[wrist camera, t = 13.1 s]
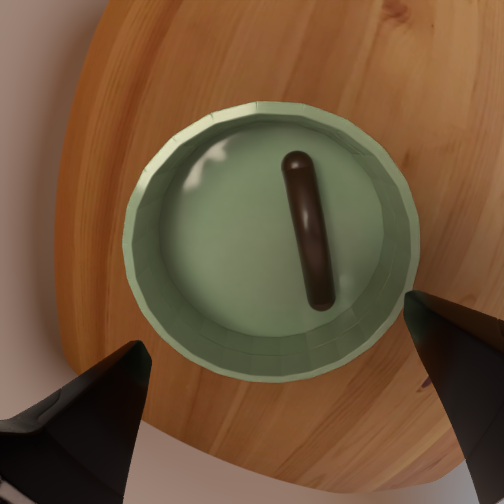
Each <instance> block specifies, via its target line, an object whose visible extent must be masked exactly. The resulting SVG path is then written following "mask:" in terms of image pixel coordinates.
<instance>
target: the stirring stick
mask: <svg viewBox="0 0 504 504" xmlns="http://www.w3.org/2000/svg"><path fill="white" fill-rule="evenodd" d="M281 173H282V177H283V182H284V186H285V190H286V195H287V199H288V204H289V209H290V213H291V218H292V223H293V227H294V232H295V237H296V242H297V247H298V252H299V257H300V262H301V268H302V273H303V278H304V284H305V289H306V295H307V300H308V303H309V305H310V307H311V308H312V309H314V310H316V311H319V312H324V311H327V310H329V309H330V308H331V307H332V306H333V305H334V303H335V300H336V293H335V285H334V277H333V270H332V263H331V256H330V249H329V243H328V237H327V230H326V225H325V219H324V213H323V208H322V202H321V197H320V192H319V186H318V181H317V177H316V172H315V167H314V163H313V160H312V158H311V157H310V156H309V155H308V154H307V153H305V152H303V151H298V150H296V151H291V152H289V153H287V154H286V155H285V156H284V157H283V159H282V161H281Z"/></svg>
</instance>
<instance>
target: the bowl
mask: <svg viewBox="0 0 504 504" xmlns="http://www.w3.org/2000/svg"><path fill="white" fill-rule="evenodd" d="M296 150H298V151H303V152H305V153H307V154H308V155H309V156H310V157H311V158H312V160H313V163H314V167H315V172H316V177H317V181H318V186H319V192H320V197H321V202H322V208H323V213H324V219H325V225H326V230H327V237H328V243H329V249H330V256H331V263H332V270H333V277H334V285H335V293H336V300H335V303H334V305H333V306H332V307H331V308H330V309H329V310H327V311H324V312H319V311H316V310H314V309H312V308H311V307H310V305H309V303H308V300H307V295H306V289H305V284H304V278H303V273H302V268H301V262H300V257H299V252H298V247H297V242H296V237H295V232H294V227H293V223H292V218H291V213H290V209H289V204H288V199H287V195H286V190H285V186H284V182H283V177H282V173H281V161H282V159H283V157H284V156H285V155H286V154H287V153H289V152H291V151H296ZM418 218H419V217H418V213H417V210H416V207H415V204H414V201H413V198H412V195H411V192H410V189H409V186H408V183H407V181H406V179H405V177H404V176H403V174H402V173H401V171H400V170H399V169H398V167H397V166H396V164H395V163H394V161H393V160H392V159H391V157H390V156H389V154H388V153H387V152H386V150H385V149H384V148H383V147H382V146H381V145H380V144H379V143H378V142H376V141H375V140H374V139H373V138H371V137H370V136H369V135H368V134H366V133H365V132H364V131H362V130H361V129H360V128H358V127H357V126H356V125H354V124H353V123H352V122H350V121H349V120H347V119H345V118H343V117H340V116H338V115H335V114H332V113H330V112H327V111H324V110H322V109H319V108H316V107H313V106H310V105H307V104H303V103H292V102H274V101H257V102H256V101H254V102H250V103H245V104H241V105H237V106H233V107H229V108H226V109H222V110H218V111H215V112H212V113H209V114H208V115H206V116H204V117H202V118H201V119H199V120H197V121H196V122H194V123H193V124H191V125H189V126H188V127H186V128H184V129H183V130H181V131H180V132H178V133H177V134H175V135H174V136H173V137H171V138H170V139H169V140H168V141H167V142H166V144H165V145H164V146H163V147H162V148H161V149H160V150H159V151H158V153H157V154H156V155H155V156H154V157H153V158H152V159H151V161H150V162H149V163H148V164H147V165H146V167H145V168H144V170H143V171H142V173H141V176H140V178H139V180H138V182H137V184H136V186H135V189H134V191H133V193H132V195H131V198H130V200H129V202H128V206H127V210H126V217H125V224H124V231H123V240H122V243H123V244H122V247H123V255H124V262H125V269H126V275H127V279H128V282H129V285H130V287H131V289H132V292H133V294H134V296H135V299H136V301H137V303H138V306H139V308H140V310H141V311H142V313H143V314H144V316H145V317H146V318H147V320H148V321H149V322H150V324H151V325H152V326H153V328H154V329H155V330H156V331H157V333H158V334H159V335H160V336H161V337H162V339H163V340H165V341H166V342H167V343H168V344H169V345H171V346H172V347H173V348H174V349H176V350H177V351H178V352H179V353H181V354H182V355H183V356H184V357H186V358H187V359H189V360H191V361H193V362H195V363H197V364H199V365H201V366H203V367H205V368H207V369H209V370H211V371H213V372H215V373H218V374H221V375H225V376H229V377H232V378H236V379H241V380H245V381H250V382H273V383H281V382H289V381H296V380H301V379H307V378H312V377H316V376H318V375H321V374H324V373H326V372H329V371H331V370H334V369H336V368H338V367H341V366H343V365H344V364H347V363H348V362H350V361H351V360H353V359H354V358H356V357H357V356H359V355H360V354H362V353H363V352H364V351H366V350H367V349H369V348H370V347H371V346H373V345H374V344H375V343H376V342H377V341H378V340H379V339H380V337H381V336H382V335H383V334H384V333H385V332H386V331H387V330H388V329H389V328H390V326H391V325H392V324H393V323H394V322H395V320H396V319H397V317H398V315H399V313H400V312H401V310H402V308H403V306H404V296H405V293H406V292H409V291H411V290H412V288H413V284H414V280H415V276H416V272H417V268H418V264H419V260H420V227H419V219H418Z"/></svg>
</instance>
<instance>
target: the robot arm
mask: <svg viewBox="0 0 504 504" xmlns="http://www.w3.org/2000/svg"><path fill="white" fill-rule="evenodd" d="M404 319H405V322H406V325H407V327H408V329H409V332H410V334H411V337H412V339H413V342H414V345H415V347H416V350H417V352H418V355H419V357H420V359H421V361H422V363H423V365H424V367H425V369H426V371H427V373H428V375H429V377H430V379H431V381H432V383H433V385H434V387H435V389H436V391H437V393H438V395H439V398H440V400H441V402H442V404H443V406H444V409H445V411H446V413H447V415H448V418H449V420H450V422H451V424H452V427H453V429H454V432H455V434H456V437H457V439H458V442H459V444H460V447H461V449H462V452H463V454H464V457H465V459H466V463H467V466H468V469H469V472H470V474H471V477H472V480H473V483H474V486H475V490H476V493H477V496H478V500H479V503H480V504H497V503H499V502H500V501H502V500H503V499H504V321H503V320H500V319H497V318H495V317H492V316H489V315H487V314H484V313H481V312H478V311H476V310H473V309H470V308H467V307H465V306H462V305H459V304H456V303H453V302H451V301H448V300H445V299H442V298H439V297H437V296H434V295H431V294H428V293H425V292H422V291H420V290H412V291H409V292H406V293H405V296H404ZM151 366H152V359H151V357H150V355H149V353H148V351H147V349H146V347H145V345H144V344H143V342H142V341H140V340H135V341H130V342H128V343H127V344H125V345H124V346H122V347H121V348H119V349H118V350H116V351H115V352H114V353H112V354H111V355H109V356H108V357H106V358H105V359H103V360H102V361H100V362H99V363H97V364H96V365H94V366H93V367H91V368H90V369H88V370H87V371H85V372H84V373H83V374H81V375H80V376H78V377H77V378H75V379H74V380H72V381H71V382H69V383H68V384H66V385H65V386H63V387H62V389H61V388H60V389H59V390H57V391H56V392H54V393H53V394H51V395H50V396H48V397H47V398H45V399H44V400H42V401H40V402H39V403H37V404H35V405H33V406H32V407H30V408H28V409H27V410H25V411H23V412H21V413H19V414H18V415H16V416H14V417H12V418H10V419H7V420H0V504H123V499H124V497H123V496H124V493H125V487H126V482H127V478H128V473H129V467H130V463H131V459H132V454H133V450H134V446H135V441H136V437H137V433H138V429H139V425H140V421H141V417H142V413H143V409H144V405H145V401H146V397H147V391H148V385H149V378H150V372H151Z"/></svg>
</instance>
